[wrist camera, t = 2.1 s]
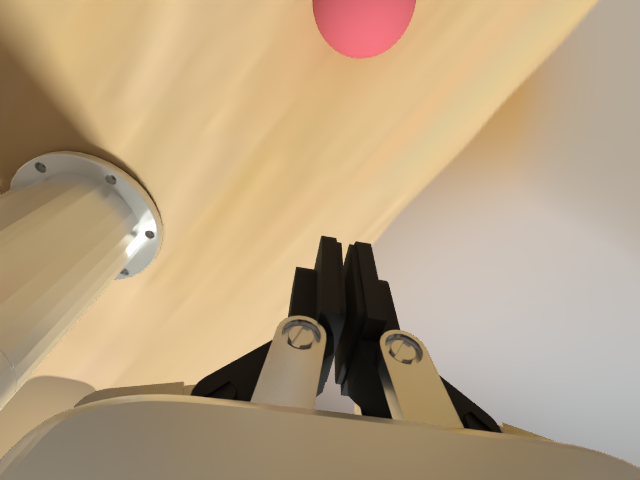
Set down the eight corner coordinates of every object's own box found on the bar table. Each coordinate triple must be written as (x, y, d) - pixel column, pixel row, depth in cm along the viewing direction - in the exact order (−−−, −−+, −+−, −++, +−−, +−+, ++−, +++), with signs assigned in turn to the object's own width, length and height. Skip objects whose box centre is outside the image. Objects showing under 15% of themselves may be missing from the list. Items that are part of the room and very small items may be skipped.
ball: (307, 46, 24) (302, 49, 19) (323, -65, 21) (321, -98, 16) (390, 63, 24) (407, 71, 19) (417, -43, 21) (446, -68, 16)
